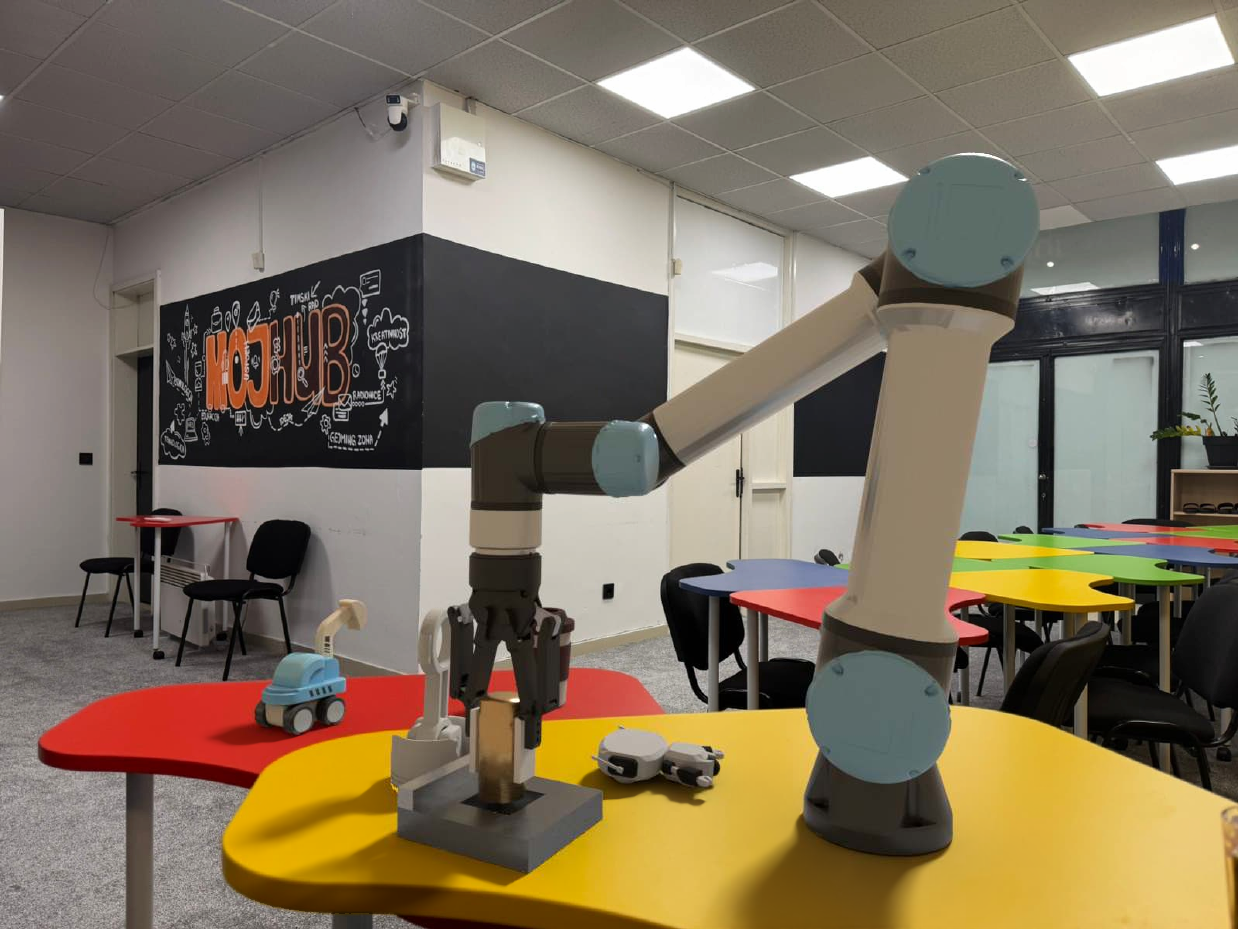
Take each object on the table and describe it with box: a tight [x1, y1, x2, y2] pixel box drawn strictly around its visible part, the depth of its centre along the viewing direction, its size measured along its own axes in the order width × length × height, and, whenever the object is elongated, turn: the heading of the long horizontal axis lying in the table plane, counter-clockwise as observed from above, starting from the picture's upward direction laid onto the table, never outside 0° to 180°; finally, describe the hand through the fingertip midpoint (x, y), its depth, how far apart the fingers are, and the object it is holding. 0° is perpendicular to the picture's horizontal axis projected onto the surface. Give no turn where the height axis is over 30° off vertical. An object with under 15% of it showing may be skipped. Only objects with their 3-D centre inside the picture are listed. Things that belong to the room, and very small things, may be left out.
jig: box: [396, 754, 604, 874], centre depth 87 cm, size 16×14×5 cm
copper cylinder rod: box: [478, 690, 526, 803], centre depth 87 cm, size 5×5×10 cm
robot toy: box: [590, 725, 725, 788], centre depth 102 cm, size 12×4×15 cm
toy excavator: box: [253, 598, 368, 736], centre depth 123 cm, size 9×17×17 cm, turn 148°
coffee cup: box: [518, 606, 576, 708], centre depth 133 cm, size 10×10×15 cm
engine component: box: [390, 607, 470, 788], centre depth 100 cm, size 11×20×10 cm
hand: (501, 773), depth 87 cm, fingers closed on copper cylinder rod, 5 cm apart
